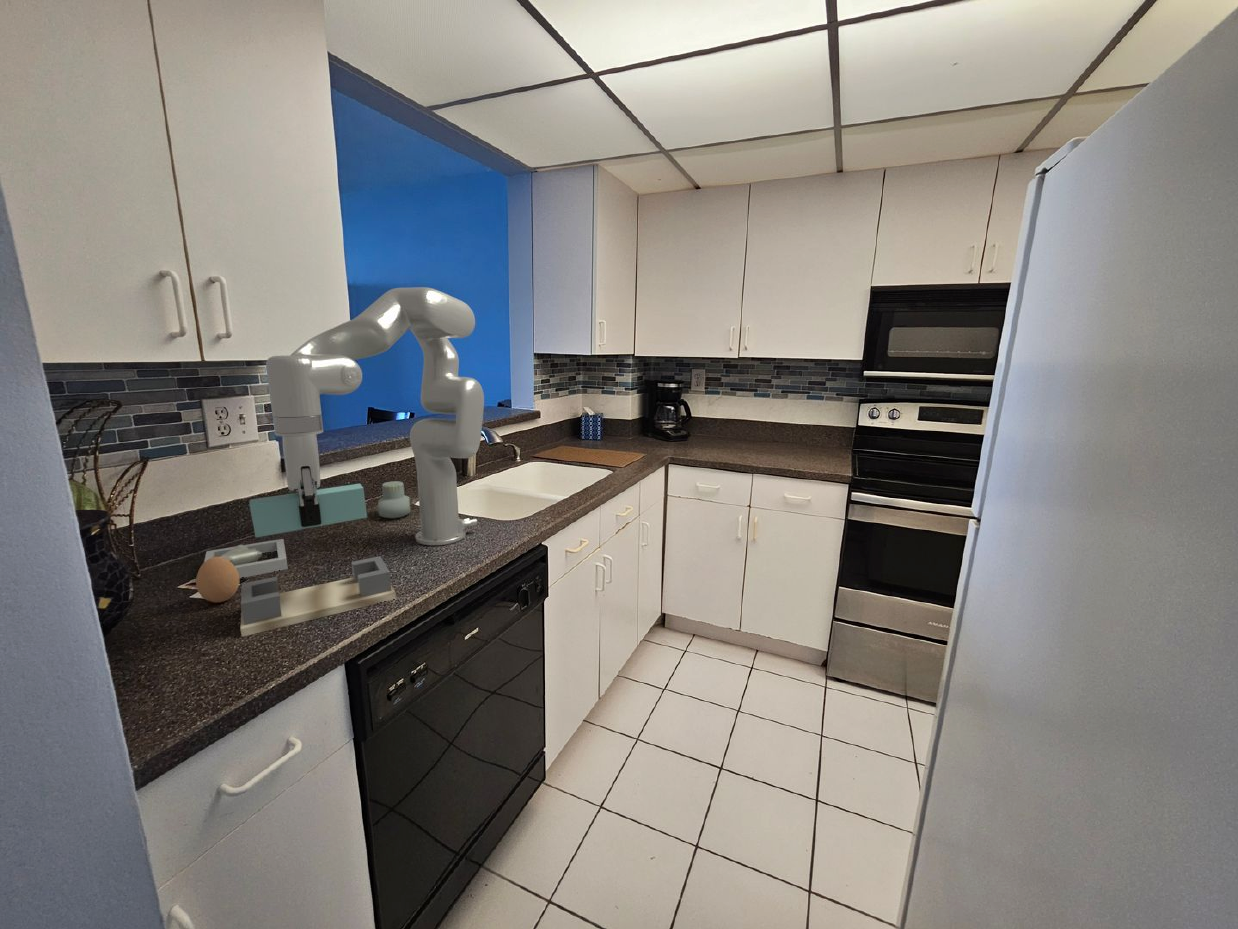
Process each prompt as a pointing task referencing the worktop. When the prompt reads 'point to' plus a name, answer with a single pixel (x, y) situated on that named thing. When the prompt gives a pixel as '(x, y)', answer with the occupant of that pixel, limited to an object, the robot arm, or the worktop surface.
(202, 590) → the egg
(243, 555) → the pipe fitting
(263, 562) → the parts tray
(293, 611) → the base board
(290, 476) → the robot arm
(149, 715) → the worktop surface
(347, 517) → the slat
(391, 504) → the air freshener
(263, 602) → the grey slat holder
